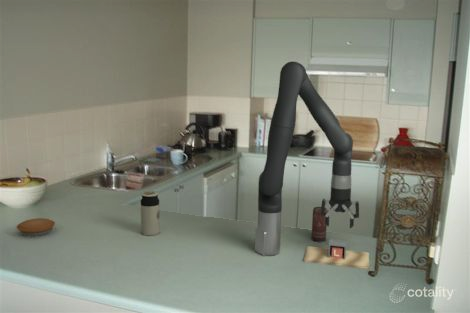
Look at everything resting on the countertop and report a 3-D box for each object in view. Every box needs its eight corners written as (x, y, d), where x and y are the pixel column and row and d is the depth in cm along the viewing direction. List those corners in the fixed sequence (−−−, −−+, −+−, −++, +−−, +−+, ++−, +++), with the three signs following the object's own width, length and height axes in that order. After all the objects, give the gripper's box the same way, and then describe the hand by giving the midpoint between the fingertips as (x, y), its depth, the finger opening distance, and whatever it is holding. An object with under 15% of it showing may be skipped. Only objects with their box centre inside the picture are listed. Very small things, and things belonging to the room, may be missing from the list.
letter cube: (331, 257, 185) (332, 247, 185) (332, 253, 189) (332, 243, 189) (342, 258, 184) (342, 248, 184) (342, 254, 188) (343, 244, 188)
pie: (55, 236, 206) (55, 225, 205) (16, 240, 200) (15, 229, 199) (55, 225, 220) (54, 214, 219) (17, 229, 215) (17, 218, 214)
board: (303, 261, 184) (304, 259, 183) (307, 248, 197) (307, 246, 197) (369, 269, 178) (369, 266, 178) (368, 255, 191) (368, 252, 191)
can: (326, 242, 204) (328, 210, 201) (311, 241, 205) (312, 209, 202) (326, 237, 210) (328, 206, 207) (311, 236, 211) (313, 205, 208)
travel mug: (137, 234, 210) (136, 194, 207) (147, 228, 217) (146, 190, 214) (153, 236, 207) (152, 196, 204) (163, 231, 214) (162, 192, 211)
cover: (328, 257, 185) (328, 244, 184) (329, 252, 191) (329, 238, 190) (345, 259, 184) (346, 245, 183) (345, 253, 189) (346, 240, 188)
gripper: (321, 187, 180) (319, 228, 183) (360, 189, 177) (358, 231, 180) (322, 182, 187) (321, 222, 190) (360, 184, 184) (358, 225, 187)
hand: (339, 226), depth 185 cm, fingers open, 8 cm apart
